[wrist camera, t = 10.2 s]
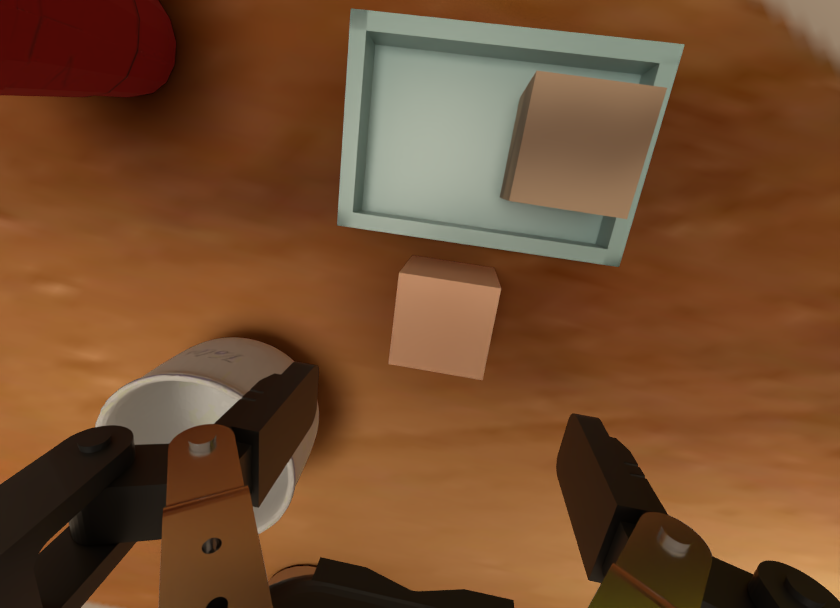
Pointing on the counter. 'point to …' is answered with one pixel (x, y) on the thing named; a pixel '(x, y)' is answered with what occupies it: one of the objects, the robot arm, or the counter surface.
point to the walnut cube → (580, 143)
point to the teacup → (207, 404)
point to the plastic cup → (84, 47)
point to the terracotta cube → (444, 316)
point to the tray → (471, 130)
